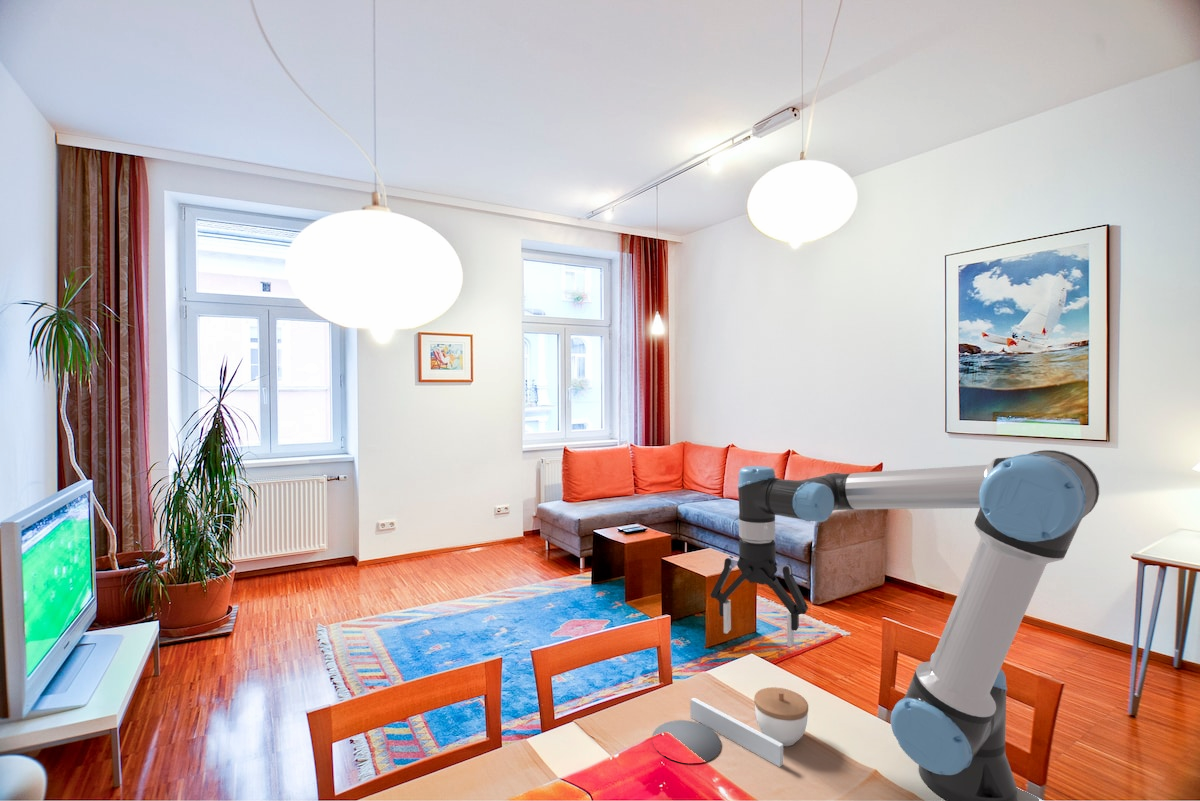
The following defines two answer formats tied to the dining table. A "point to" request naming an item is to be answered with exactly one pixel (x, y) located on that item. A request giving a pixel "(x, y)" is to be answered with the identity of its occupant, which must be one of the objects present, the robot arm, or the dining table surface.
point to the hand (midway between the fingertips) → (758, 637)
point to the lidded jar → (781, 714)
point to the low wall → (737, 732)
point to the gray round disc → (693, 737)
